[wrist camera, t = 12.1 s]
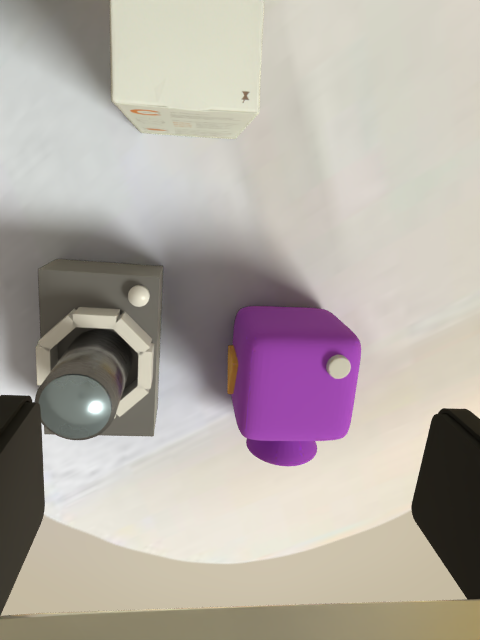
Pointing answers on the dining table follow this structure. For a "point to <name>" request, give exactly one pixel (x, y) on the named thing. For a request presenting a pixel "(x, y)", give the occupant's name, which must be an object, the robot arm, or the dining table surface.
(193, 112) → the small box
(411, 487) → the dining table surface
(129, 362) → the lens
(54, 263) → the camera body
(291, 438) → the toy camera
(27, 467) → the robot arm
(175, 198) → the dining table surface
